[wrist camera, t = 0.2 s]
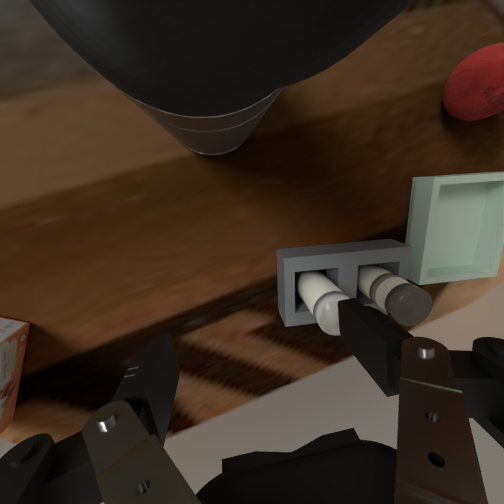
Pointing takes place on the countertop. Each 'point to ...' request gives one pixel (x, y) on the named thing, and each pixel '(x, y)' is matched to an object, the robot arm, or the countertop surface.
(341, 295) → the ball
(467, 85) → the onion
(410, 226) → the parts tray
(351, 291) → the block
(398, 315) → the cylinder
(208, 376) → the countertop surface
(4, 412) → the cracker box
